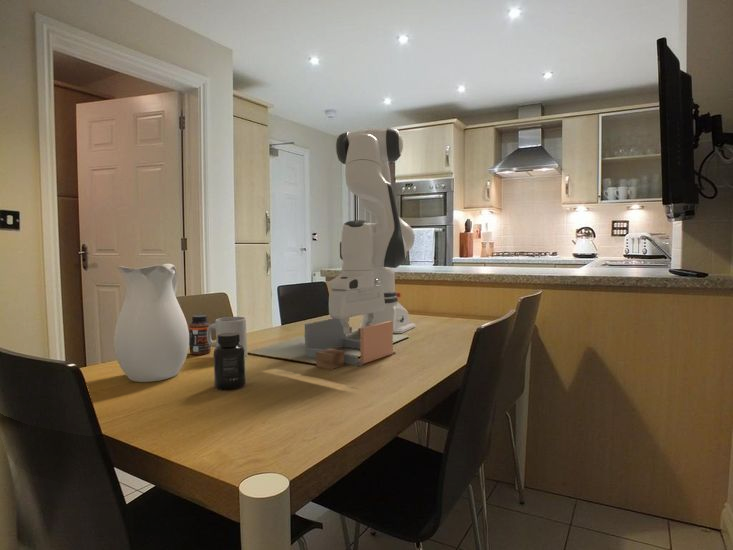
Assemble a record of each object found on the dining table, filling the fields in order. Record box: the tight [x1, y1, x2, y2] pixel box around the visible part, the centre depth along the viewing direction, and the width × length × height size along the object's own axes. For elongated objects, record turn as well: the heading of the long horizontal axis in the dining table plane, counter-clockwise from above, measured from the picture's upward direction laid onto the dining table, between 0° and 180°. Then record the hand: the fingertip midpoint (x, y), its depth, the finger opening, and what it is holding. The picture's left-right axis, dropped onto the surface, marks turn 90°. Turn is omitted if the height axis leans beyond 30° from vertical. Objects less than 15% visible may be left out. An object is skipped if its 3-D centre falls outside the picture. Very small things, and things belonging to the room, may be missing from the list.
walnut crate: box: [315, 348, 345, 370], centre depth 120 cm, size 5×5×5 cm
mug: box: [207, 316, 248, 358], centre depth 137 cm, size 12×8×11 cm
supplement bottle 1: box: [188, 314, 212, 356], centre depth 141 cm, size 6×6×11 cm
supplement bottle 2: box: [213, 333, 247, 391], centre depth 108 cm, size 7×7×12 cm
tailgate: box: [359, 321, 394, 365], centre depth 126 cm, size 1×13×9 cm, turn 142°
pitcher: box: [113, 263, 190, 383], centre depth 120 cm, size 24×17×28 cm
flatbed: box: [304, 318, 397, 367], centre depth 132 cm, size 20×16×10 cm
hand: (358, 331), depth 129 cm, fingers open, 8 cm apart
